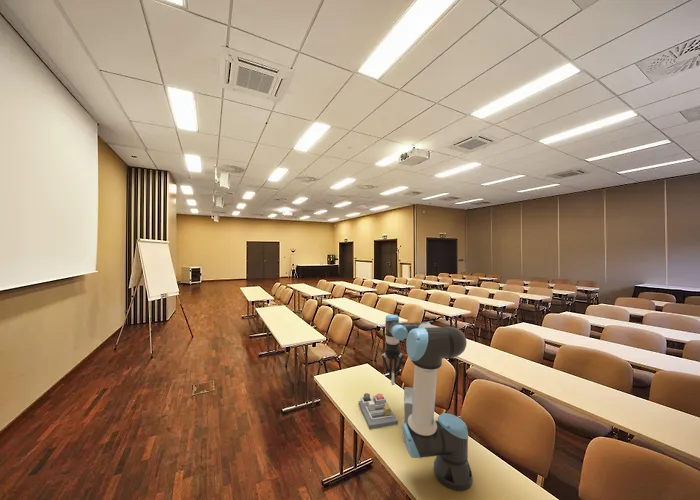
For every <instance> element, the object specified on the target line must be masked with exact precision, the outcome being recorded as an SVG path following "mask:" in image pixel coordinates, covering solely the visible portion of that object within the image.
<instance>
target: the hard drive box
mask: <svg viewBox="0 0 700 500" xmlns="http://www.w3.org/2000/svg"><path fill="white" fill-rule="evenodd" d="M403 389H404V390H403V392H404V393H403V424H405V423H406V424H408V417H409V416H410V415H411V414H412V403H413V387H410V386H409V387H407V386H404V388H403ZM403 443H404V444H405V442H404V441H403Z"/></svg>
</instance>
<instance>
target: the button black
mask: <svg viewBox="0 0 700 500" xmlns="http://www.w3.org/2000/svg"><path fill="white" fill-rule="evenodd" d="M370 396H371V394H370V393H364V394H363V397H364V401H365V402H367V401H370Z"/></svg>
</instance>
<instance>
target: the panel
mask: <svg viewBox="0 0 700 500" xmlns="http://www.w3.org/2000/svg"><path fill="white" fill-rule="evenodd" d="M381 394H382V395H383V399H380V400H377V394H374V395H373V396H371V395H370V401H374V403H375V411H371V412H370V411H369V409H368V402H369V401H367V402H365V401H364V396H360V400H359V401H358V406H359V408H360V410H361V414H362V415H363V417H364V420H365V422H366V425H367V427H368V429H369V430H372V429H379V428H385V427H391V426H396V425H399V420H398V418H397V417H396V415H395V414H394V412H393V410H392V409H391V408H390V416H386V417H385V415H384V413H383V406H389V404H388V402H387V399H386V396H385V395H384V394H383V393H381ZM372 397H373V398H372ZM389 407H390V406H389Z"/></svg>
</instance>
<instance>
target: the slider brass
mask: <svg viewBox="0 0 700 500" xmlns="http://www.w3.org/2000/svg"><path fill="white" fill-rule="evenodd" d="M390 409H391V407H390V406H383V413H384V415H385V417H386V416H390Z"/></svg>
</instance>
